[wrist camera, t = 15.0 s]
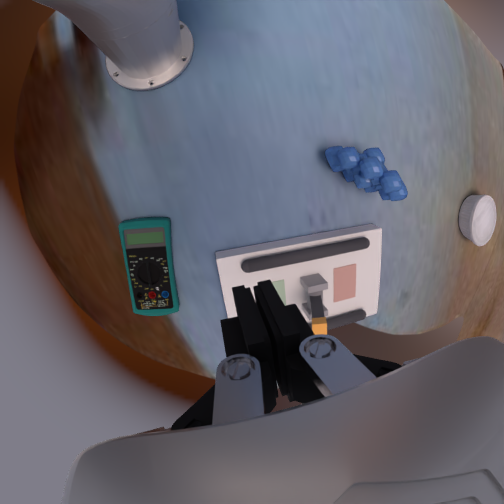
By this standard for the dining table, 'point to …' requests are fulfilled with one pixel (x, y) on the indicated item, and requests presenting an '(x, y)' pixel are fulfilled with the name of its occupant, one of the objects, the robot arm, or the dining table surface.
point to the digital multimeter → (149, 265)
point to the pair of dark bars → (309, 255)
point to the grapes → (367, 171)
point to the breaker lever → (317, 312)
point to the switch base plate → (311, 272)
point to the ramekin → (478, 218)
